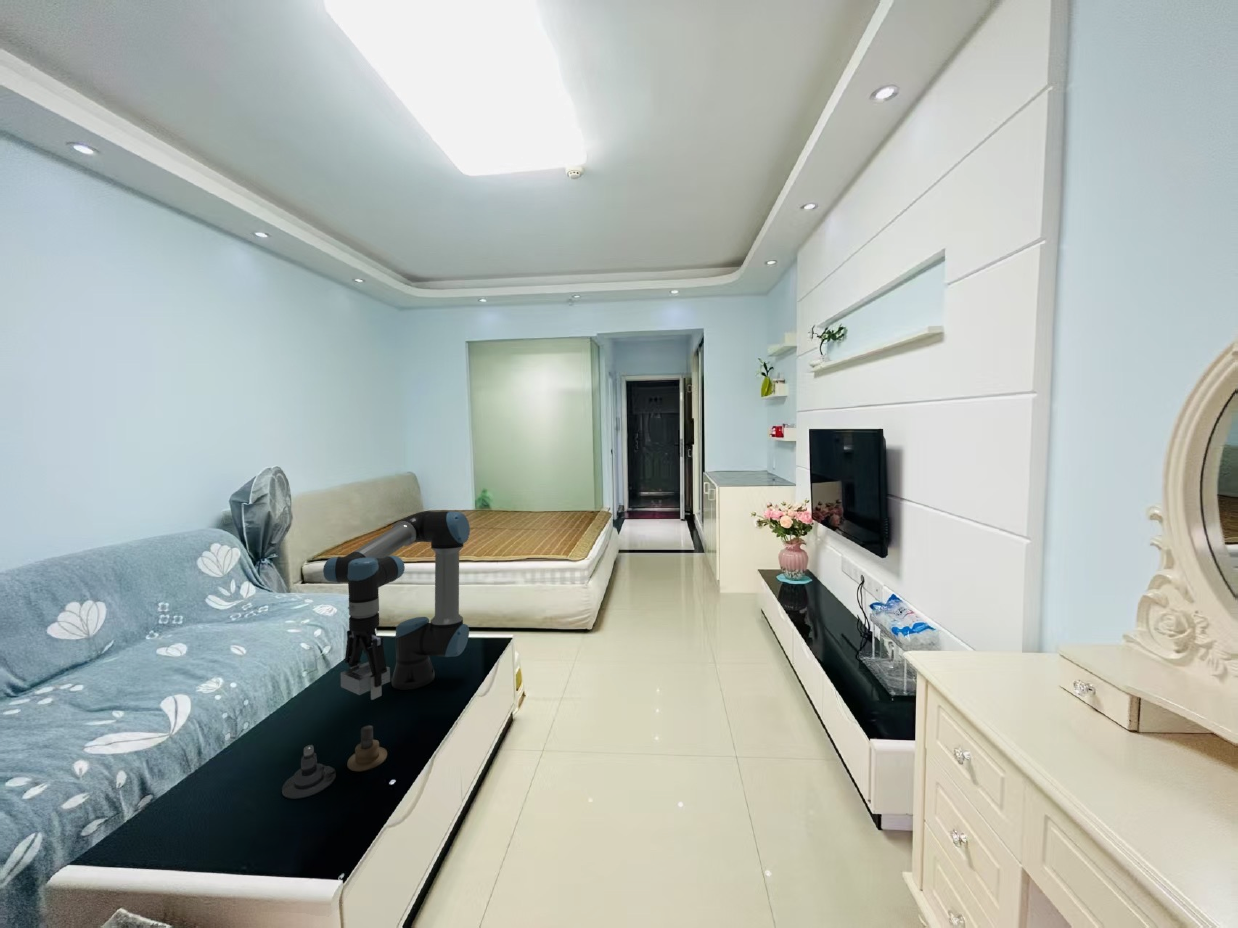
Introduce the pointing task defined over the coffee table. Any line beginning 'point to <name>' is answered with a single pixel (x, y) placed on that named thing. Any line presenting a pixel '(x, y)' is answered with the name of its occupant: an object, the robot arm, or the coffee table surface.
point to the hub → (308, 777)
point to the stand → (367, 752)
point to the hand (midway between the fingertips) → (366, 692)
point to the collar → (360, 678)
